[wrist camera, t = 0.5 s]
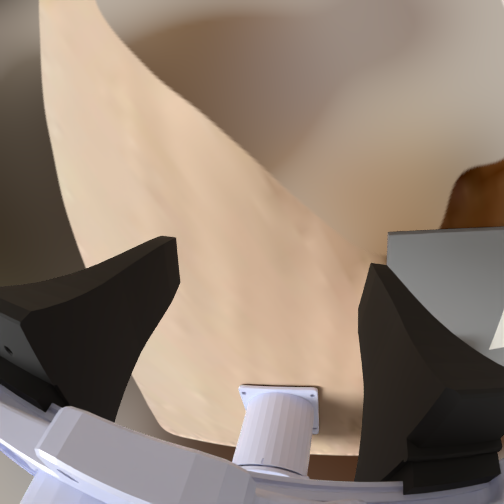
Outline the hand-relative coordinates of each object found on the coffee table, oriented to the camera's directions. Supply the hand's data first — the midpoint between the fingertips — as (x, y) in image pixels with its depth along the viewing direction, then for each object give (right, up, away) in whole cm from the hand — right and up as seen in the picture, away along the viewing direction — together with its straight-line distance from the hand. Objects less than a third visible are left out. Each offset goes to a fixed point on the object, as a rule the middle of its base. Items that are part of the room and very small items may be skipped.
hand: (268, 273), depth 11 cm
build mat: (+19, -8, +11) cm, 24 cm away
